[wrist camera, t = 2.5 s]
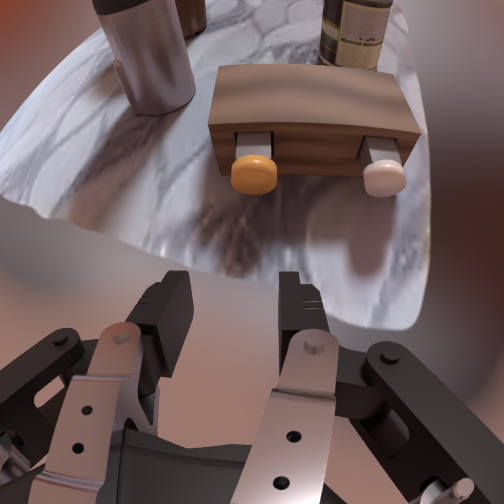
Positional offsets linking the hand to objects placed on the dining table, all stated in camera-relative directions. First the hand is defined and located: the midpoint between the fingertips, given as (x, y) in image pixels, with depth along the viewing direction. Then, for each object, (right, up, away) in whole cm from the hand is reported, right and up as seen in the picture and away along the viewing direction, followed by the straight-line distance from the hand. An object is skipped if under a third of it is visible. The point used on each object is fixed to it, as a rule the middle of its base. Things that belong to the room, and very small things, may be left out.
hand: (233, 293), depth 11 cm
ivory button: (+13, +10, +16) cm, 23 cm away
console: (+7, +15, +22) cm, 27 cm away
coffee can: (+17, +34, +29) cm, 48 cm away
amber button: (+1, +10, +17) cm, 20 cm away
